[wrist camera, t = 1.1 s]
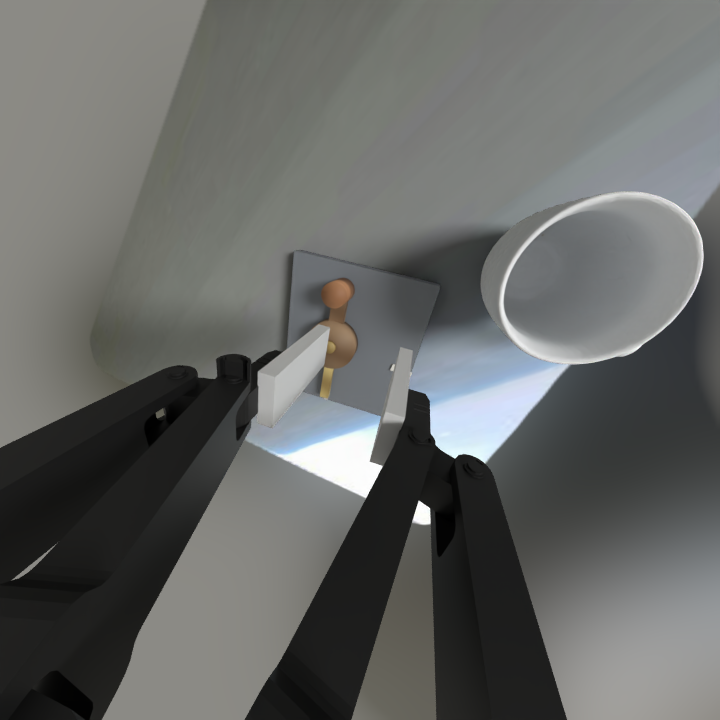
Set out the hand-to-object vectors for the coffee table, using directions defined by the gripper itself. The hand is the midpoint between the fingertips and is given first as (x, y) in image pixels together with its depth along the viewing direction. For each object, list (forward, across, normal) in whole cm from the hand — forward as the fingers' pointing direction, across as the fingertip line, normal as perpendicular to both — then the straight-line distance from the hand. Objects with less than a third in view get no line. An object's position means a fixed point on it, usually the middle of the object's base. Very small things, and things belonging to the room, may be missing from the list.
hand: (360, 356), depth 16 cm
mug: (+19, +14, +6) cm, 24 cm away
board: (+19, -4, -7) cm, 20 cm away
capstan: (+17, -6, -7) cm, 19 cm away
